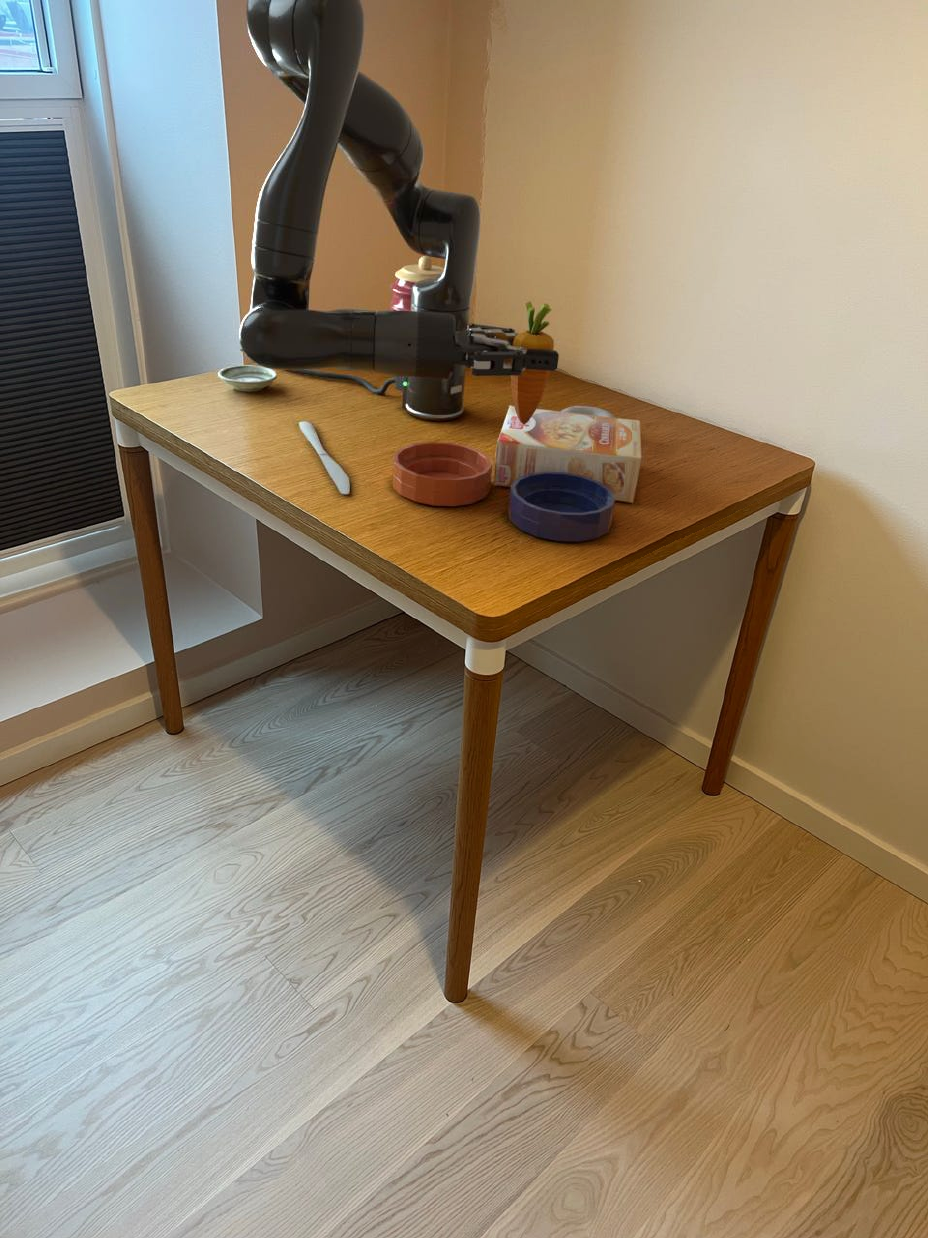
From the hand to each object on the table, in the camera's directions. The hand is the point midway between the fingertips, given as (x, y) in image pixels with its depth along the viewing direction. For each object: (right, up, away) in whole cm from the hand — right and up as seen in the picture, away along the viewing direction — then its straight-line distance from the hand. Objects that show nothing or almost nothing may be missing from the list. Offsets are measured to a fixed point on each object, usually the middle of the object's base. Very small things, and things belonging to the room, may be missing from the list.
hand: (553, 353), depth 110 cm
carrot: (-3, -8, +5) cm, 10 cm away
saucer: (-47, +7, +44) cm, 65 cm away
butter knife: (-31, -9, +21) cm, 38 cm away
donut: (+9, -2, +37) cm, 38 cm away
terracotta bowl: (-14, -14, +15) cm, 25 cm away
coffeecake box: (+14, -10, +19) cm, 25 cm away
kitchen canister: (-19, +21, +71) cm, 77 cm away
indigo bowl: (+1, -19, +9) cm, 21 cm away
